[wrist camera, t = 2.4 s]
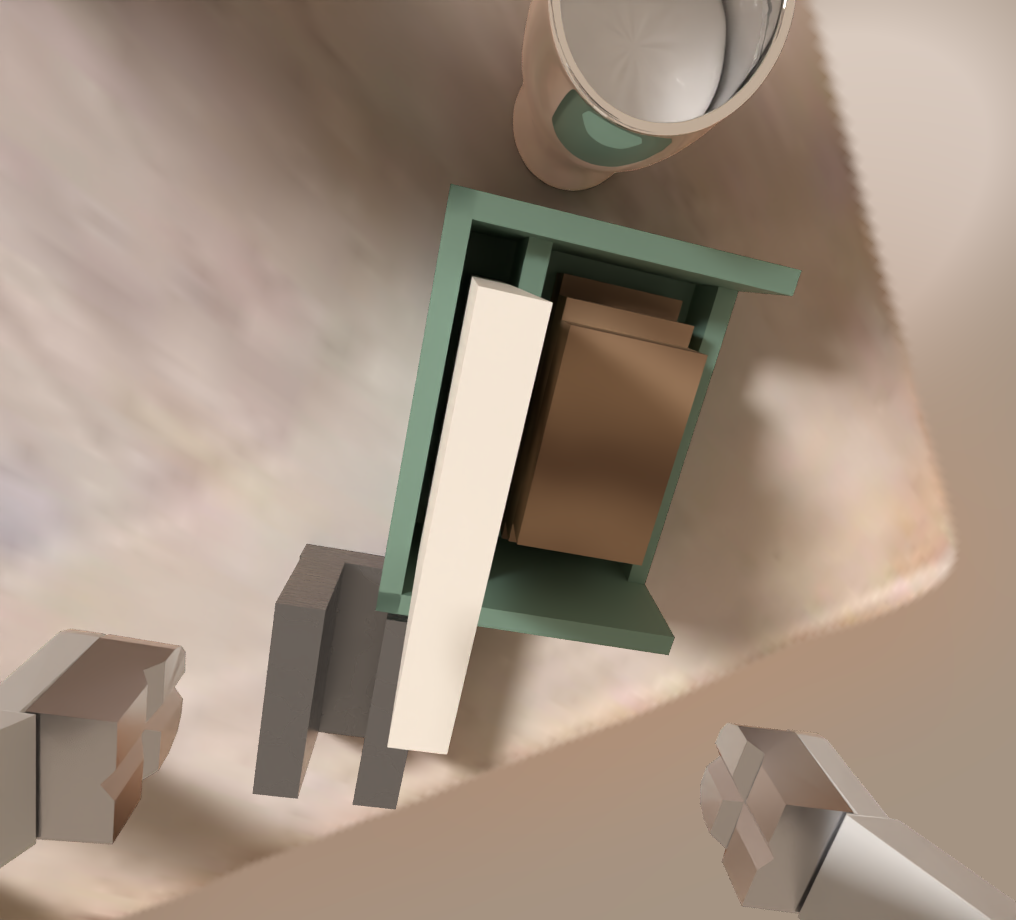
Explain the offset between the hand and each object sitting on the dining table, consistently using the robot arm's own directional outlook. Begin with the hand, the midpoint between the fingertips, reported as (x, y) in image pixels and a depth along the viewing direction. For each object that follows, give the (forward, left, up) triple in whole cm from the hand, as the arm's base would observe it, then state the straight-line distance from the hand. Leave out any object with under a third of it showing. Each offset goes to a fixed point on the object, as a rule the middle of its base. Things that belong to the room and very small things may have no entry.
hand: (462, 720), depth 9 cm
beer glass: (-14, +3, -26) cm, 29 cm away
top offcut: (0, +6, -20) cm, 21 cm away
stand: (+17, -3, -26) cm, 31 cm away
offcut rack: (0, +5, -26) cm, 26 cm away
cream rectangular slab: (0, 0, -25) cm, 25 cm away
